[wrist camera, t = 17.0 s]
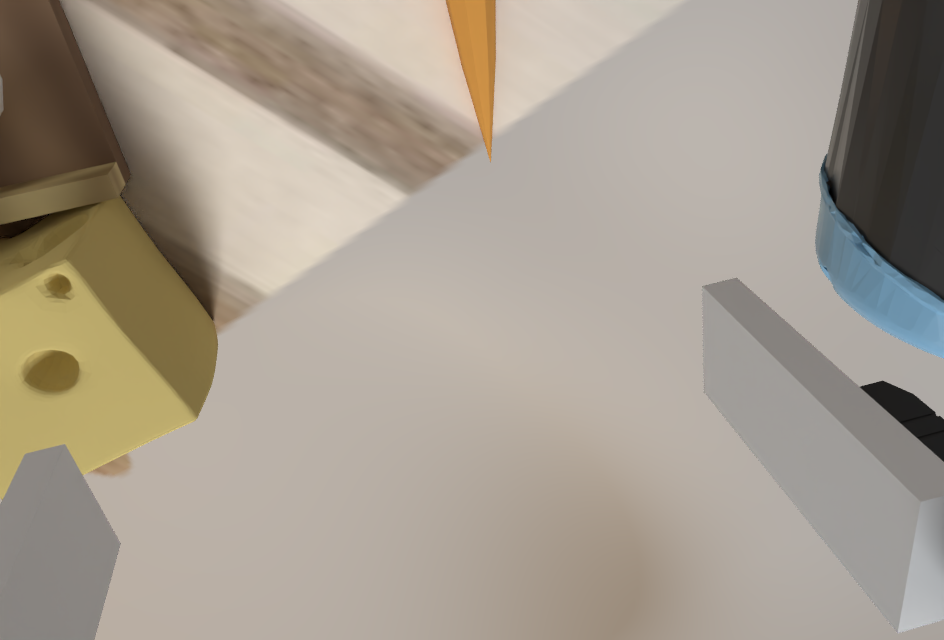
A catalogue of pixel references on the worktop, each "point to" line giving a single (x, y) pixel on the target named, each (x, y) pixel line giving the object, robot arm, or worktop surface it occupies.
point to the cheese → (95, 340)
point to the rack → (50, 118)
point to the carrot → (477, 55)
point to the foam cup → (1, 95)
